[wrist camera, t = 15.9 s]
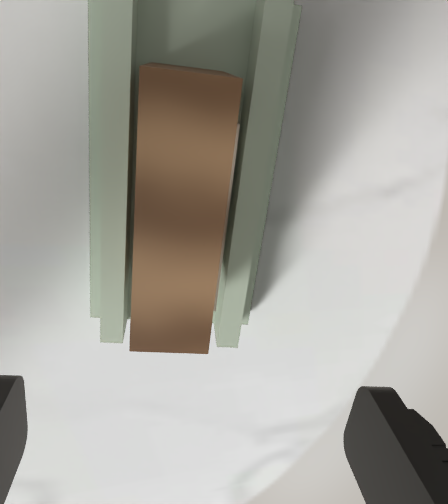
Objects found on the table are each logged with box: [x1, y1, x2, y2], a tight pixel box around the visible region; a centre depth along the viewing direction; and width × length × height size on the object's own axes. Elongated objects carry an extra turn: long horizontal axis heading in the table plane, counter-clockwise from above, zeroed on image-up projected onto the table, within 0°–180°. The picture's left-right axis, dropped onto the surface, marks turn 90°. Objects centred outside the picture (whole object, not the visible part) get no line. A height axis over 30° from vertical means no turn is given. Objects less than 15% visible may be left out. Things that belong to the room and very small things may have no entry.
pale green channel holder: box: [88, 0, 302, 348], centre depth 28 cm, size 22×12×4 cm, turn 173°
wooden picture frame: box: [130, 62, 243, 354], centre depth 24 cm, size 14×4×9 cm, turn 173°
